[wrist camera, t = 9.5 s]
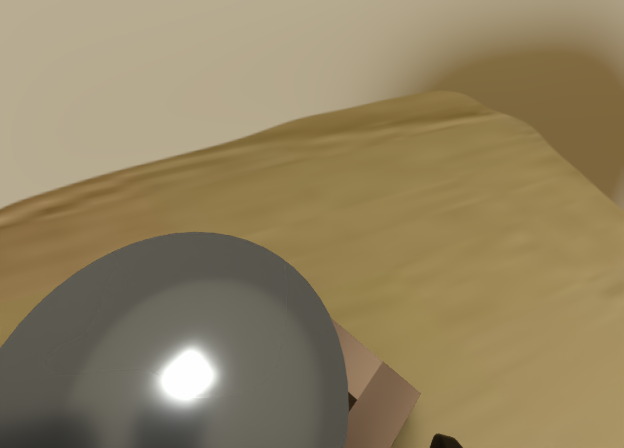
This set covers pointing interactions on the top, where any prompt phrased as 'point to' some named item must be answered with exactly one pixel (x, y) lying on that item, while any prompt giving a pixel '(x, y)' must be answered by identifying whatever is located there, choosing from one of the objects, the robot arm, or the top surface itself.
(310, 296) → the metal pin
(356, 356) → the socket block
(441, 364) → the top surface
